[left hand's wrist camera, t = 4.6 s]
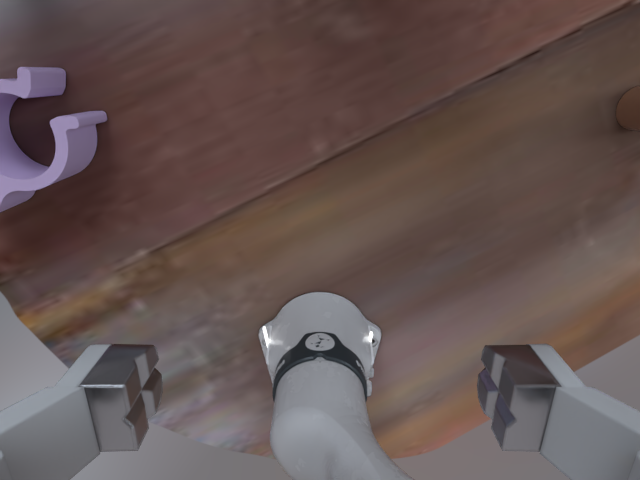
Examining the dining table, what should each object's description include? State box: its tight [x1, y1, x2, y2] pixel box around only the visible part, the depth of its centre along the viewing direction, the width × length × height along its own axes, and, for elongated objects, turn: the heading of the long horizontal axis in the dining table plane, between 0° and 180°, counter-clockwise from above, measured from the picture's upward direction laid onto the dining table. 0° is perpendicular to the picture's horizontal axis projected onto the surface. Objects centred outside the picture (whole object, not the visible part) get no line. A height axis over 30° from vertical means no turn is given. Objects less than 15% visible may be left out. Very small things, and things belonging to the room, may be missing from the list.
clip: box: [0, 67, 107, 212], centre depth 53 cm, size 20×12×7 cm, turn 129°
